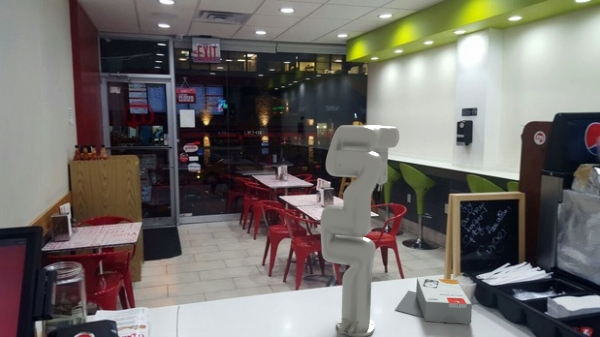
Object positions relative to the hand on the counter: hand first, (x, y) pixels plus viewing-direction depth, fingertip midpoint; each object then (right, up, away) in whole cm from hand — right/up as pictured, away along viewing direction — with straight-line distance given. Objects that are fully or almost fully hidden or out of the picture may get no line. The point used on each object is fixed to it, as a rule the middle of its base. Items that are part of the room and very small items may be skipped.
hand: (377, 199), depth 168 cm
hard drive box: (+21, -33, -11) cm, 41 cm away
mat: (+15, -38, -18) cm, 45 cm away
